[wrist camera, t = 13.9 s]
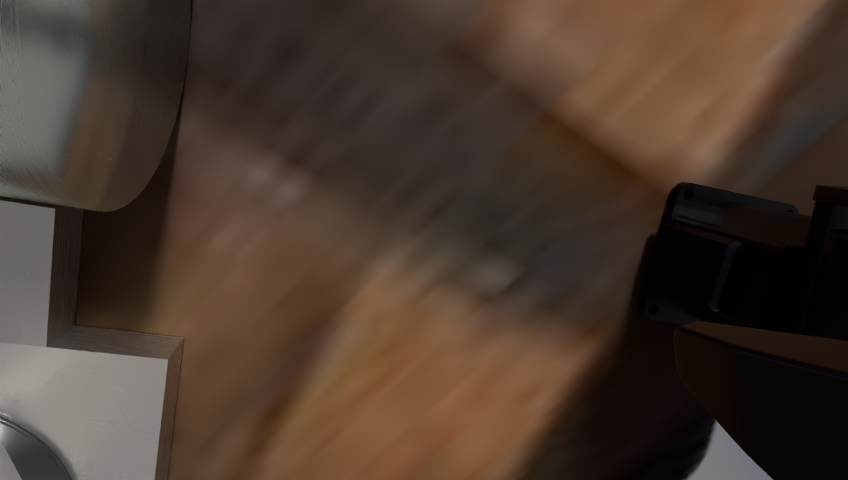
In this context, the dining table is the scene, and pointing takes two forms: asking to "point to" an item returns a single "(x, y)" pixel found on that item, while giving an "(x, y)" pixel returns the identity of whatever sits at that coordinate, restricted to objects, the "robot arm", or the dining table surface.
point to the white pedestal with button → (7, 466)
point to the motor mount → (62, 230)
